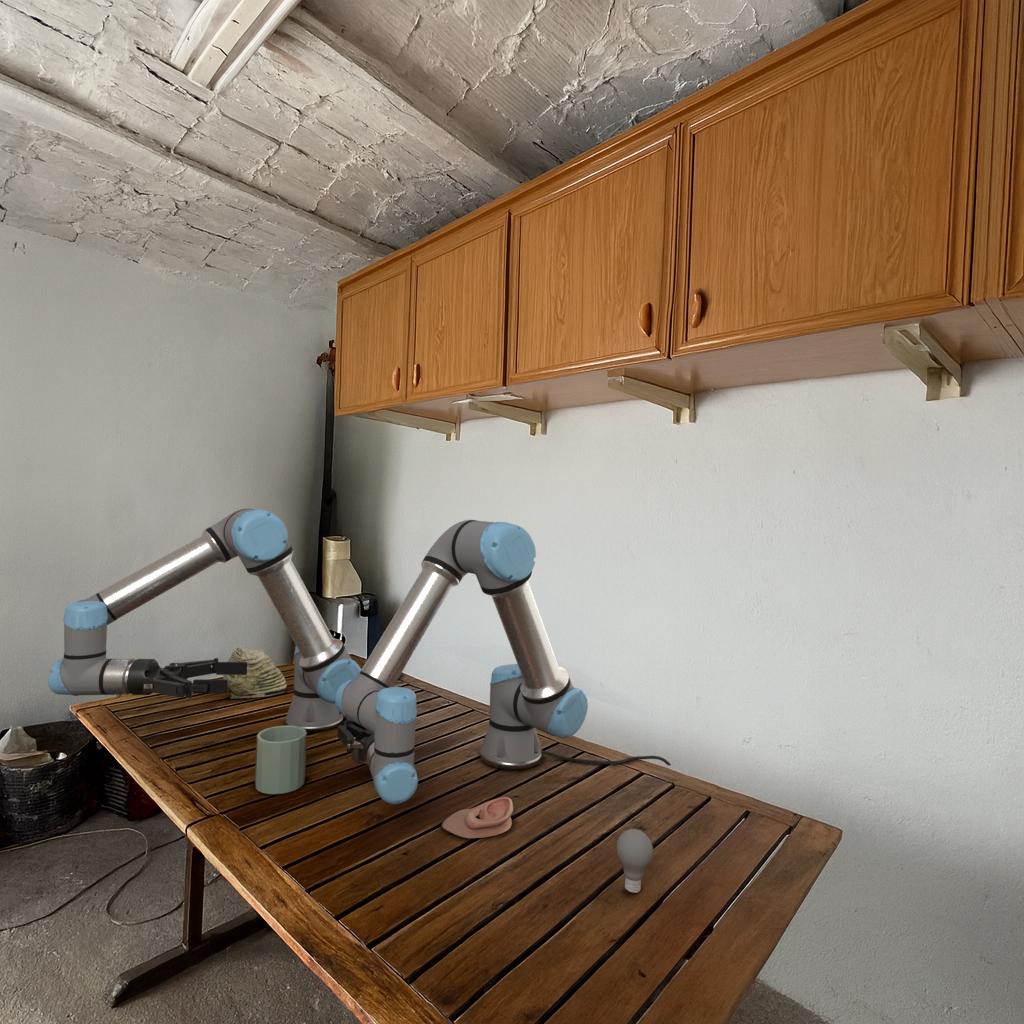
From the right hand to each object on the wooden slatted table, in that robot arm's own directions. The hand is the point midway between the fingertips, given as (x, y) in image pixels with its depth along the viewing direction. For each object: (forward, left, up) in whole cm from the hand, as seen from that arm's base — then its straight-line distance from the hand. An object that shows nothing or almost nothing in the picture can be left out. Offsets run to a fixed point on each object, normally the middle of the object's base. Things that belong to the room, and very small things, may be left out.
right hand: (368, 716), depth 150 cm
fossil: (+26, -62, -12) cm, 68 cm away
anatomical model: (-17, +33, -12) cm, 39 cm away
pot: (+19, +4, -12) cm, 23 cm away
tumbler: (0, +5, -8) cm, 9 cm away
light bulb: (-35, +61, -12) cm, 71 cm away
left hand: (+29, +2, +12) cm, 31 cm away
